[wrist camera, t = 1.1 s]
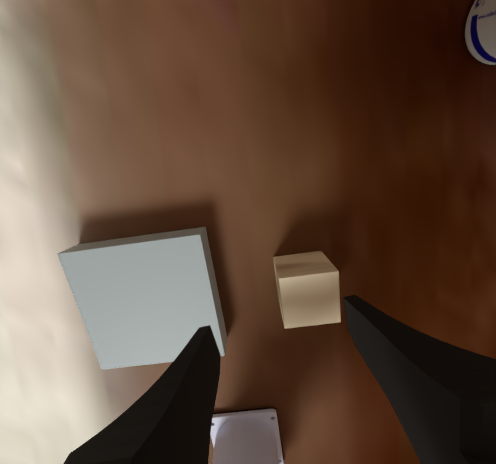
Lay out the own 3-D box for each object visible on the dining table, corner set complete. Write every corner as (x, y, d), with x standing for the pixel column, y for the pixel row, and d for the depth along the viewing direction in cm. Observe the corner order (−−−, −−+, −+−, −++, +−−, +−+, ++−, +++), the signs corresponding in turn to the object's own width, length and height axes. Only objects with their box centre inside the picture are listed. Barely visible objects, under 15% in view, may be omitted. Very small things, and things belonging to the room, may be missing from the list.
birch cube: (323, 293, 23) (340, 322, 19) (278, 298, 23) (284, 328, 19) (321, 250, 22) (338, 271, 18) (273, 256, 22) (278, 278, 18)
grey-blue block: (227, 333, 25) (224, 355, 22) (118, 346, 25) (101, 369, 23) (206, 225, 22) (200, 234, 19) (82, 242, 22) (57, 253, 19)
